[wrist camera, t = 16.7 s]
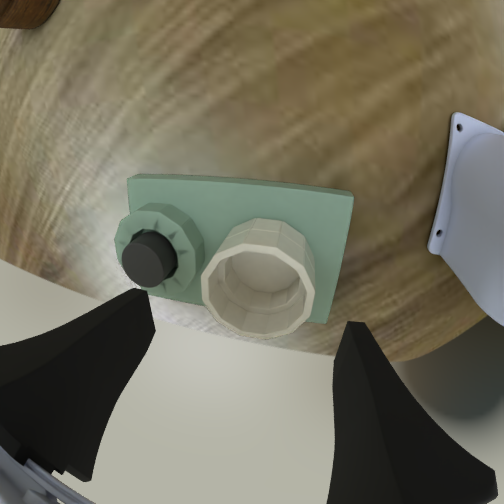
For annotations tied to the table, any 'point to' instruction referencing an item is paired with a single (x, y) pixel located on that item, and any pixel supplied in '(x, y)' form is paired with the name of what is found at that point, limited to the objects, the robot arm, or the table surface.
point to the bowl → (261, 280)
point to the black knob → (148, 259)
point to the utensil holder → (25, 13)
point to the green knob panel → (233, 225)
